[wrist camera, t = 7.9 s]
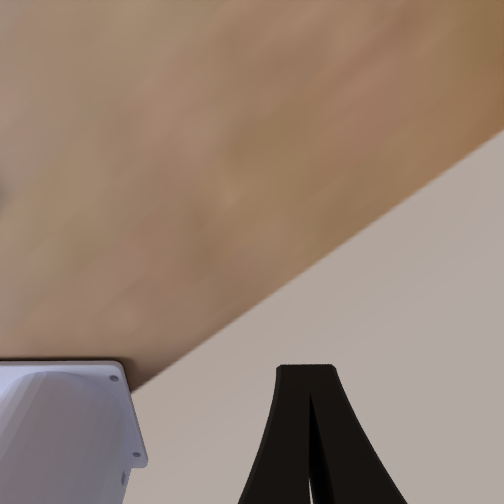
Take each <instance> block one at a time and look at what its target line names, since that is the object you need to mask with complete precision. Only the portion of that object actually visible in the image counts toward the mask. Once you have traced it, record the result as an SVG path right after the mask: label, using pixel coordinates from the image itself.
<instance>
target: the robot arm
mask: <svg viewBox="0 0 504 504" xmlns="http://www.w3.org/2000/svg"><path fill="white" fill-rule="evenodd" d="M114 375H115V376H114ZM147 463H148V457H147V454H146V450H145V446H144V442H143V439H142V435H141V431H140V428H139V424H138V421H137V417H136V413H135V410H134V406H133V402H132V399H131V395H130V391H129V388H128V384H127V380H126V377H125V373H124V369H123V367H122V365H121V364H120V363H119V362H117V361H0V504H122V502H123V499H124V495H125V491H126V487H127V483H128V480H129V476H130V472H131V468H144V467H146V466H147ZM309 480H310V486H311V492H312V499H313V504H407V502H406V501H405V499H404V498H403V496H402V495H401V493H400V491H399V490H398V488H397V487H396V485H395V484H394V482H393V480H392V479H391V477H390V476H389V474H388V472H387V471H386V469H385V467H384V466H383V464H382V462H381V461H380V459H379V457H378V456H377V454H376V452H375V451H374V449H373V447H372V445H371V443H370V441H369V440H368V438H367V436H366V434H365V432H364V431H363V429H362V427H361V425H360V423H359V421H358V419H357V417H356V415H355V413H354V411H353V409H352V407H351V405H350V402H349V401H348V398H347V396H346V394H345V391H344V389H343V387H342V384H341V382H340V379H339V377H338V374H337V371H336V368H335V367H334V366H333V365H331V364H314V365H313V364H309V365H307V364H306V365H305V364H302V365H280V366H279V367H277V368H276V382H275V389H274V395H273V400H272V404H271V408H270V413H269V417H268V420H267V423H266V427H265V430H264V434H263V437H262V440H261V444H260V447H259V450H258V452H257V456H256V458H255V461H254V463H253V466H252V469H251V472H250V474H249V477H248V480H247V482H246V485H245V487H244V490H243V492H242V495H241V497H240V499H239V502H238V504H311V502H310V492H309V491H310V490H309Z"/></svg>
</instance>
